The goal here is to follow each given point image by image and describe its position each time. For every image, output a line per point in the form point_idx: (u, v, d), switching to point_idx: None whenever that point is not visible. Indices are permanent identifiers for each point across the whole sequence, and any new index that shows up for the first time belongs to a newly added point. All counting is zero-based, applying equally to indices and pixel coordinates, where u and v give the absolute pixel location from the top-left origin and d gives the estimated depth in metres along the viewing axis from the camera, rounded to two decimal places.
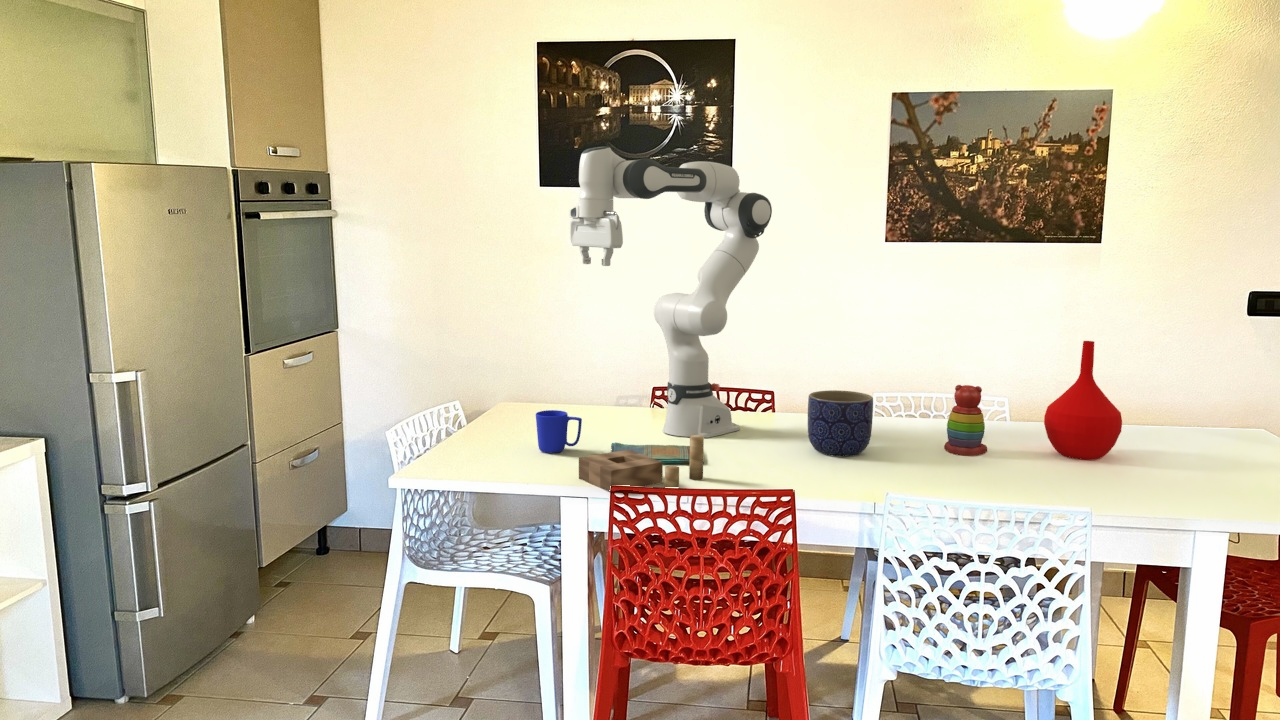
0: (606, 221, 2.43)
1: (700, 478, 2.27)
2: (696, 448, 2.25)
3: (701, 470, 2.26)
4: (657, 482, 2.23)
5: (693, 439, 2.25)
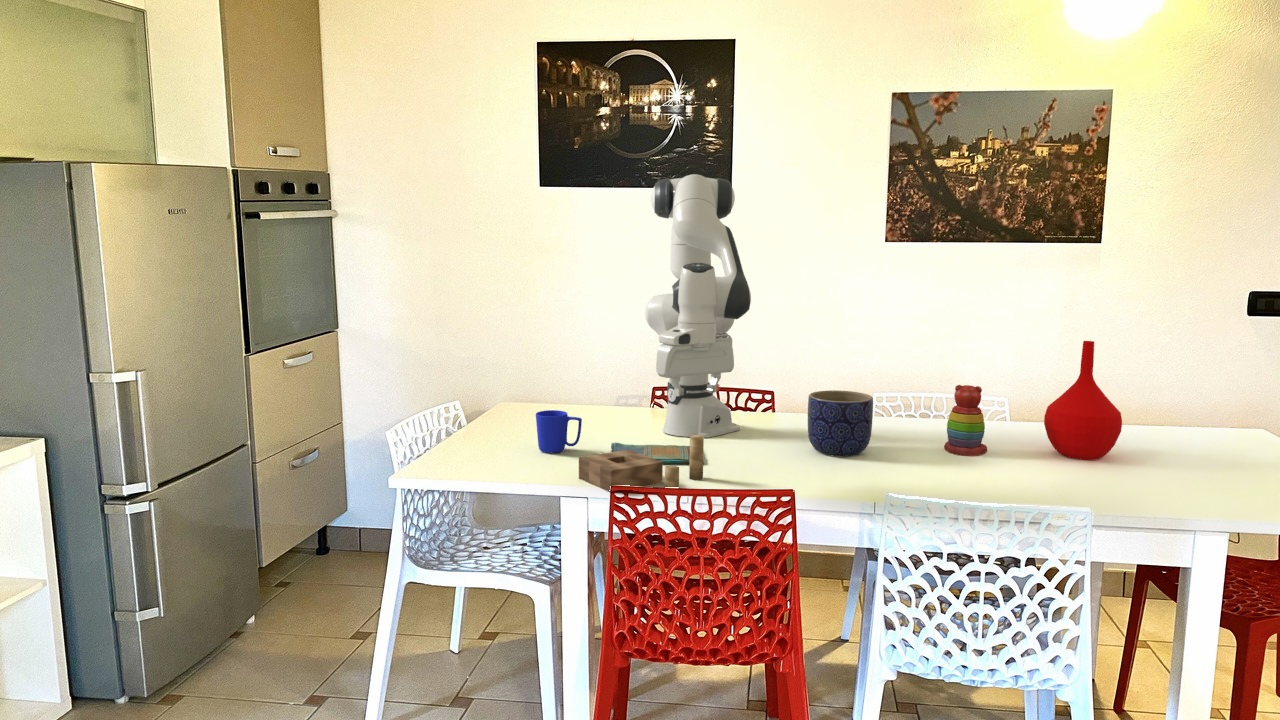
0: (727, 344, 2.26)
1: (700, 478, 2.27)
2: (696, 448, 2.25)
3: (701, 470, 2.26)
4: (657, 482, 2.23)
5: (693, 439, 2.25)
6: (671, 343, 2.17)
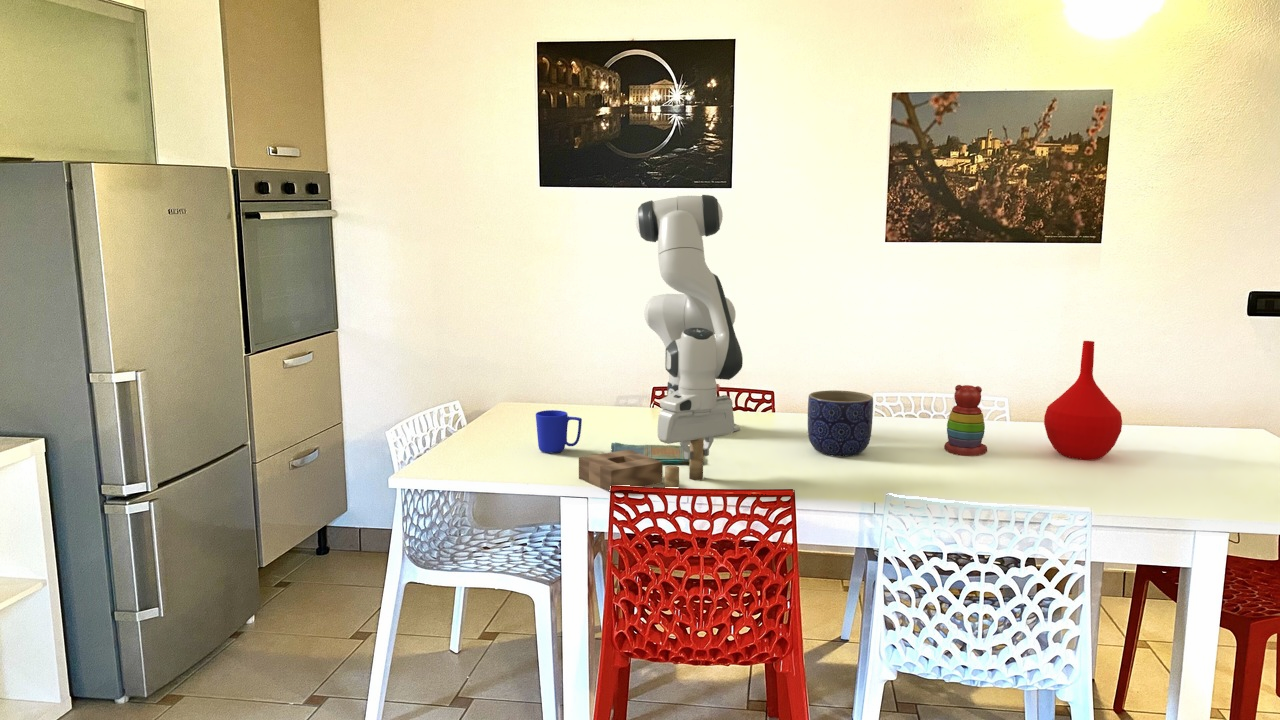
0: (727, 407, 2.28)
1: (700, 478, 2.27)
2: (696, 448, 2.25)
3: (701, 470, 2.26)
4: (657, 482, 2.23)
5: None
6: (672, 410, 2.19)
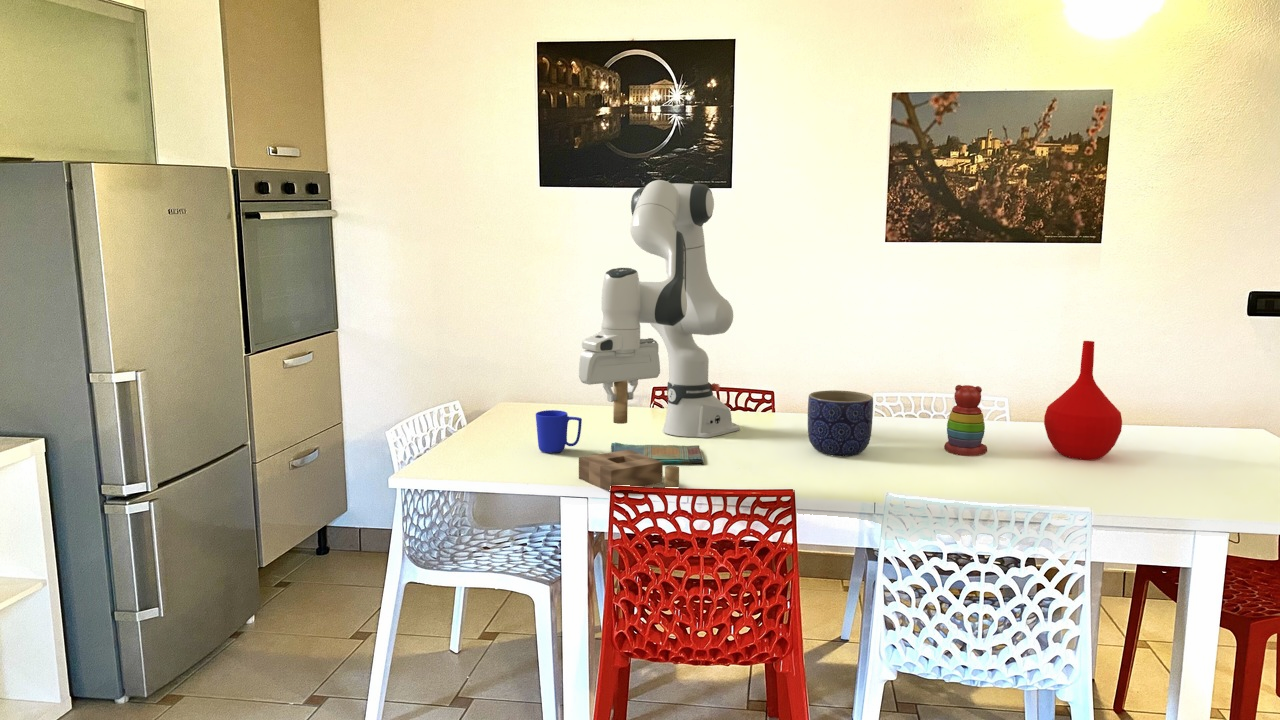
0: (652, 350, 2.24)
1: (624, 422, 2.22)
2: (619, 390, 2.20)
3: (625, 413, 2.22)
4: (657, 482, 2.23)
5: None
6: (593, 349, 2.14)
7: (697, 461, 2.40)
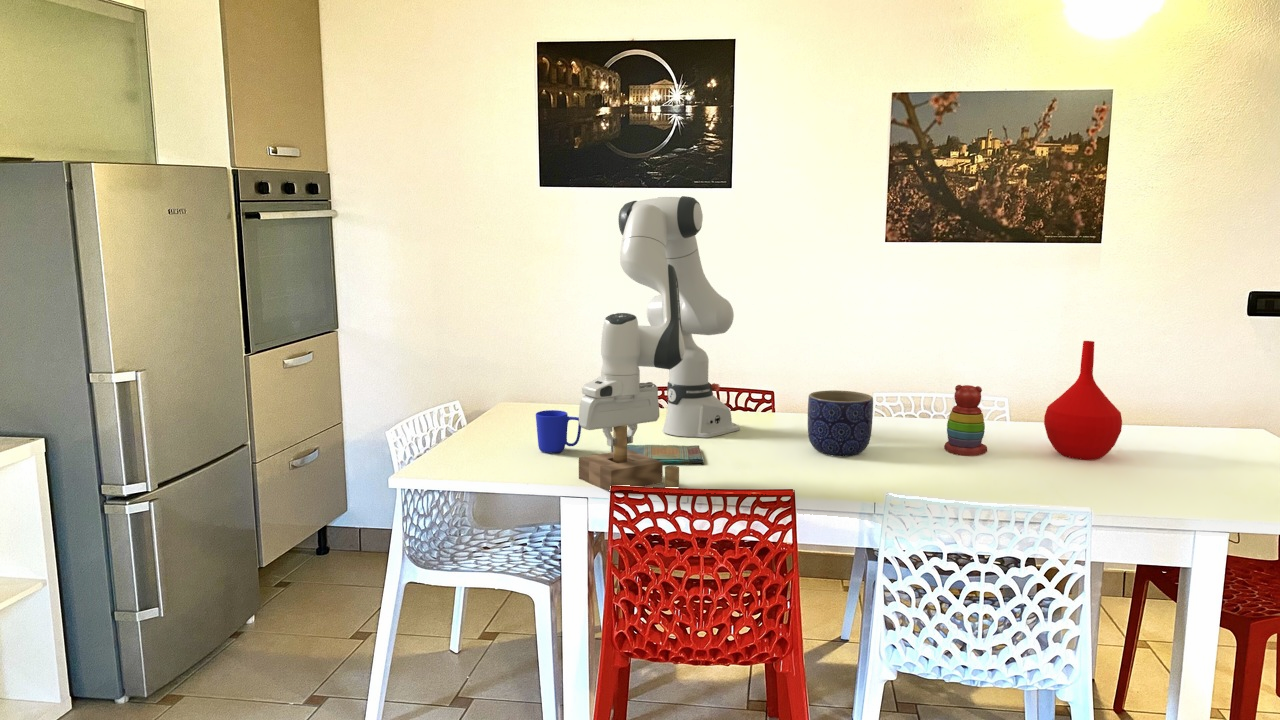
0: (652, 394, 2.25)
1: None
2: (619, 435, 2.22)
3: (625, 457, 2.23)
4: (657, 482, 2.23)
5: None
6: (593, 395, 2.16)
7: (697, 461, 2.40)
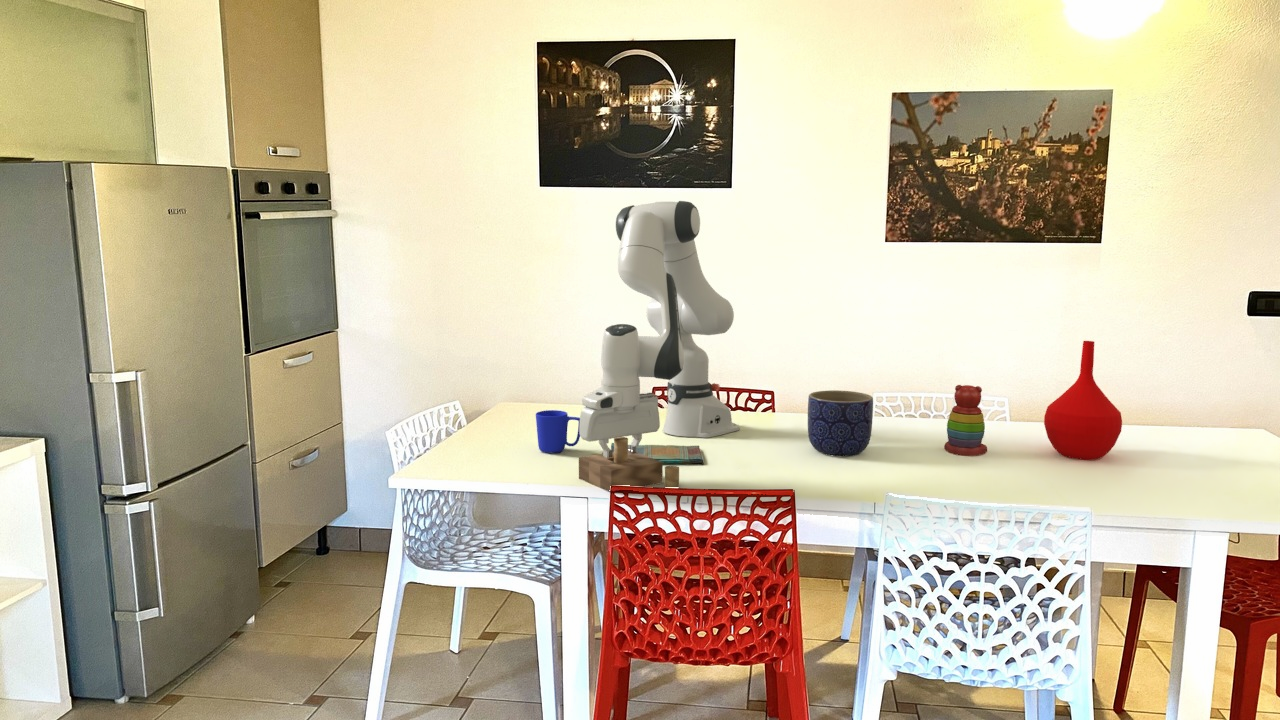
0: (652, 405, 2.26)
1: None
2: (620, 450, 2.23)
3: None
4: (657, 482, 2.23)
5: (617, 441, 2.23)
6: (593, 407, 2.16)
7: (697, 461, 2.40)
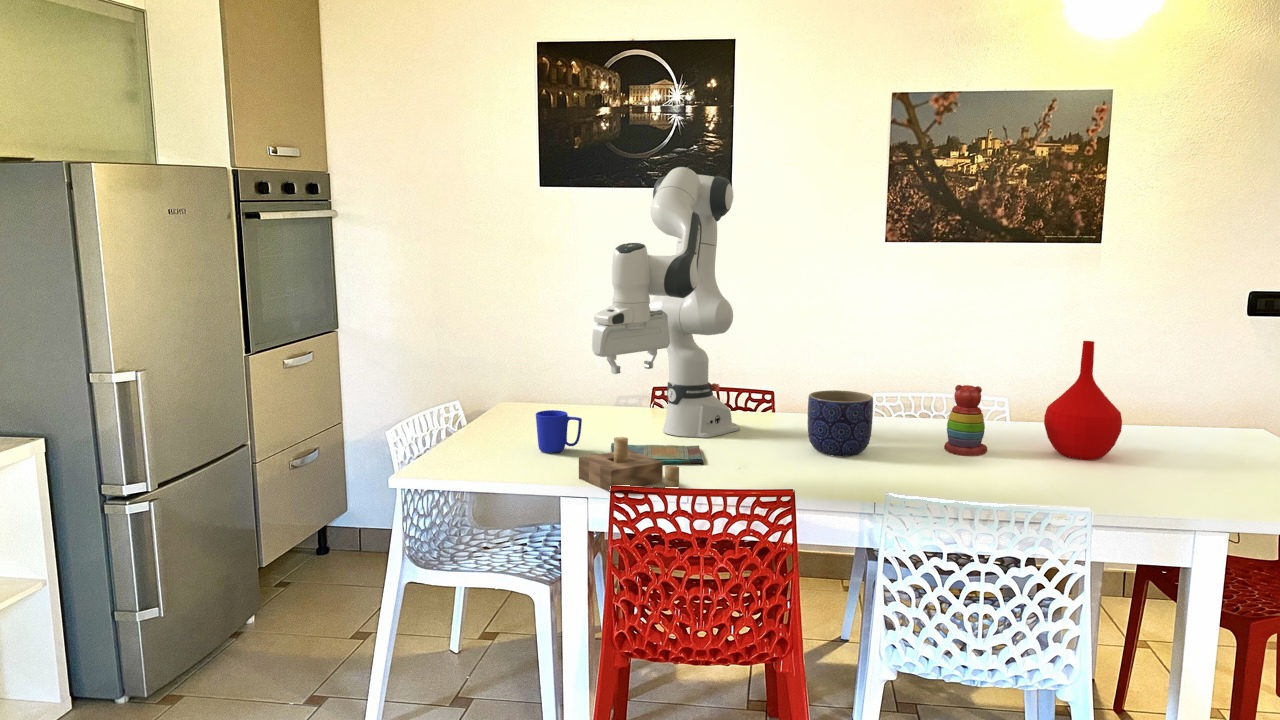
0: (662, 321, 2.32)
1: None
2: (620, 450, 2.23)
3: None
4: (657, 482, 2.23)
5: (617, 441, 2.23)
6: (605, 323, 2.22)
7: (697, 461, 2.40)
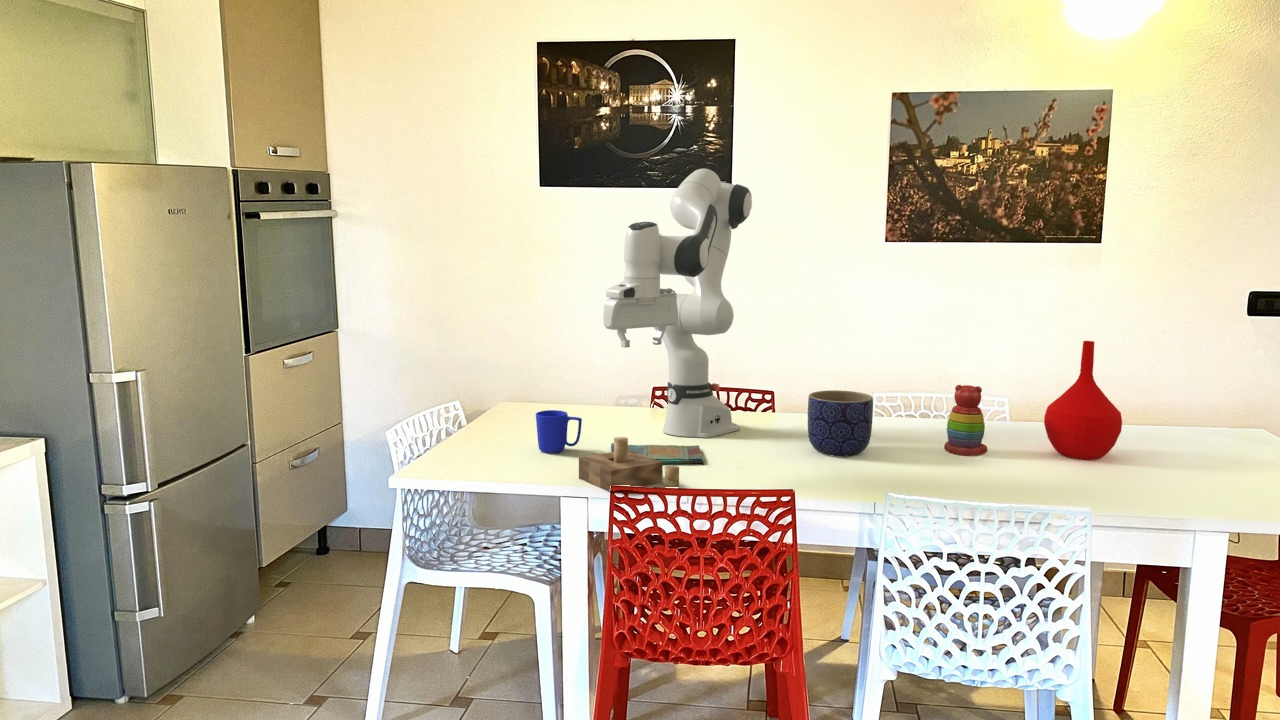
0: (671, 299, 2.40)
1: None
2: (620, 450, 2.23)
3: None
4: (657, 482, 2.23)
5: (617, 441, 2.23)
6: (617, 297, 2.30)
7: (697, 461, 2.40)
